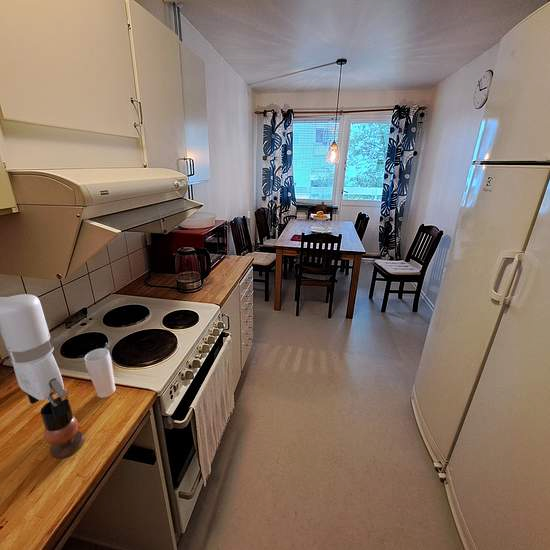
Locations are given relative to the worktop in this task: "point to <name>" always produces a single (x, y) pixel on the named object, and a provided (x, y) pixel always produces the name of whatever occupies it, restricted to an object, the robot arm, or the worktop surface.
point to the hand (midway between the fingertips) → (50, 406)
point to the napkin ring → (50, 421)
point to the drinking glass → (101, 371)
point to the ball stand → (65, 440)
